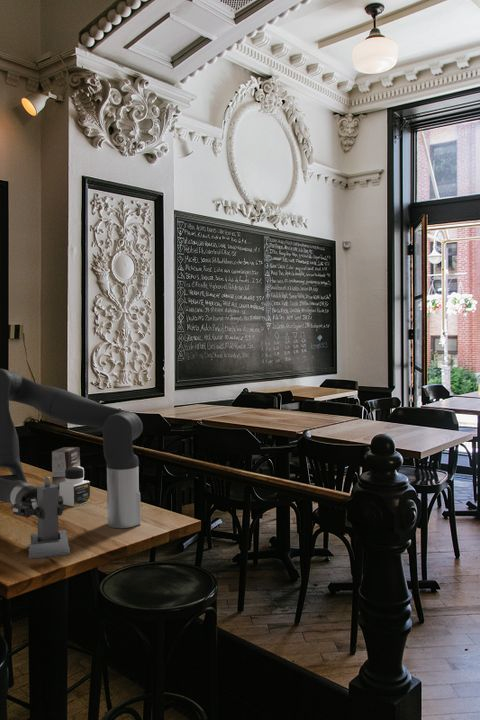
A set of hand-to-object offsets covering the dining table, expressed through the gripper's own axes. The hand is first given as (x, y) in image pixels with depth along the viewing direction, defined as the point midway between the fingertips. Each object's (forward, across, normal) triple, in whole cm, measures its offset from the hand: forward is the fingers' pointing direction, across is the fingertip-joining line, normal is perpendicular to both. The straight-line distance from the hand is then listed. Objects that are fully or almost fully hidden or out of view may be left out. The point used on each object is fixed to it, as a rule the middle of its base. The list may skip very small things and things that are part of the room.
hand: (52, 513), depth 153 cm
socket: (-2, 0, +10) cm, 11 cm away
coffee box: (-52, +26, +11) cm, 59 cm away
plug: (-3, 0, +8) cm, 8 cm away
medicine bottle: (-40, +24, +11) cm, 47 cm away
